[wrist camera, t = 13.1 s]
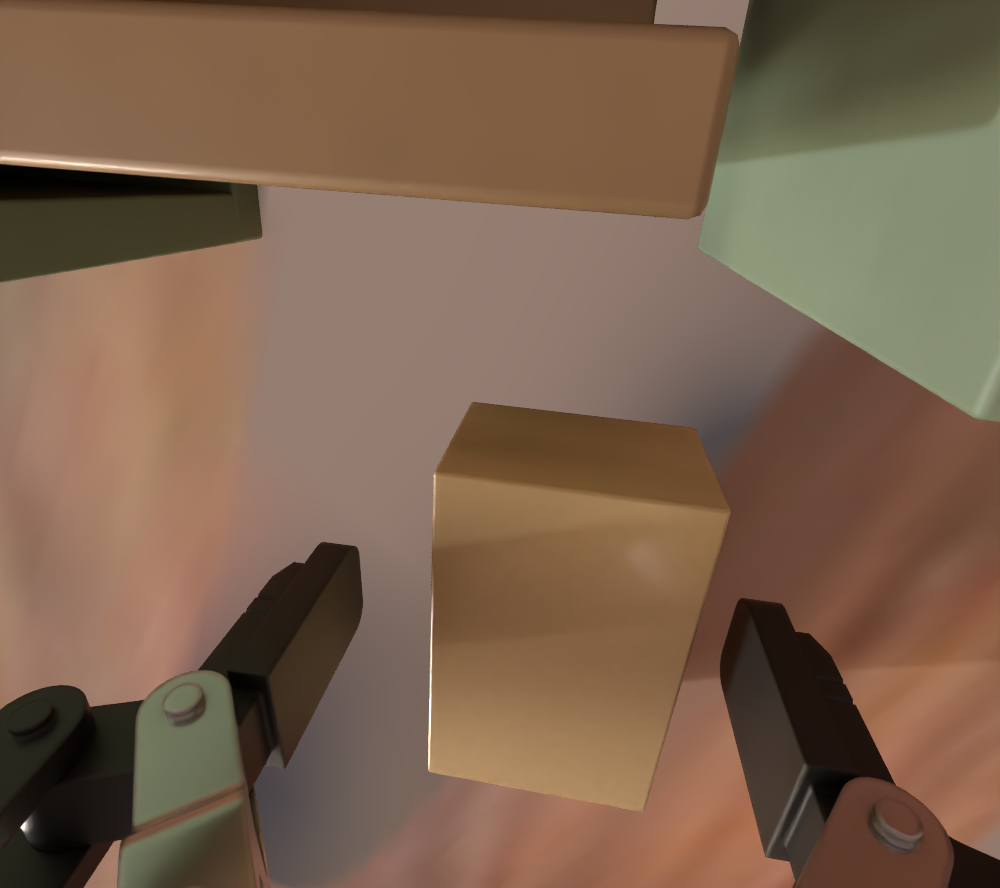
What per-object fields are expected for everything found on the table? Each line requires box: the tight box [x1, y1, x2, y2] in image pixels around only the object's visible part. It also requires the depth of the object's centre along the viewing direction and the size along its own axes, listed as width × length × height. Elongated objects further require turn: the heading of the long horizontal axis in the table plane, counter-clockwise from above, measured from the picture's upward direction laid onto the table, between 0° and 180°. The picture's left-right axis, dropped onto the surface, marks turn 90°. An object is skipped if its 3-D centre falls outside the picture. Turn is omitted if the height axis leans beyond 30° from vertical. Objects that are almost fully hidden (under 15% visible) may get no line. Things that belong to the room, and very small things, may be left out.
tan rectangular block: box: [428, 402, 731, 812], centre depth 13 cm, size 8×5×4 cm, turn 176°
